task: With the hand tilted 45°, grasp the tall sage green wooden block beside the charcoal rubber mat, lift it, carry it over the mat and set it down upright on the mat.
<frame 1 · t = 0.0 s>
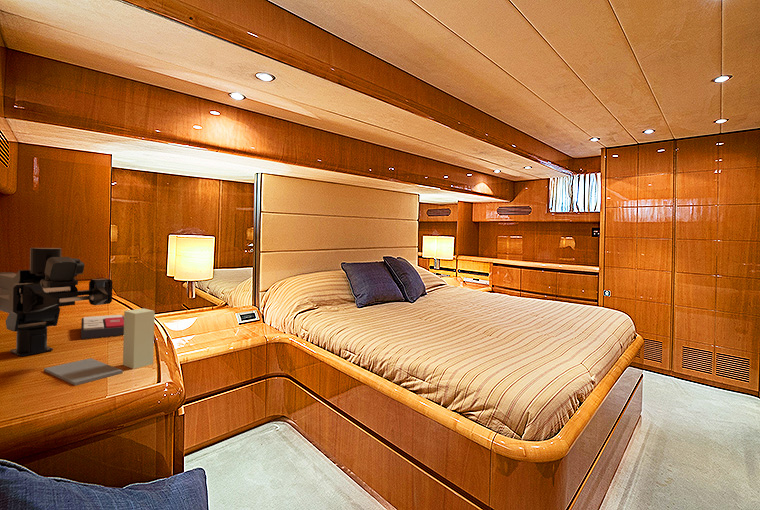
hand: (83, 299, 83), 17 cm above the table, tool horizontal, fingers open, 9 cm apart
calculator: (103, 333, 117), on the table
mat: (83, 371, 84), on the table
block: (138, 364, 90), on the table
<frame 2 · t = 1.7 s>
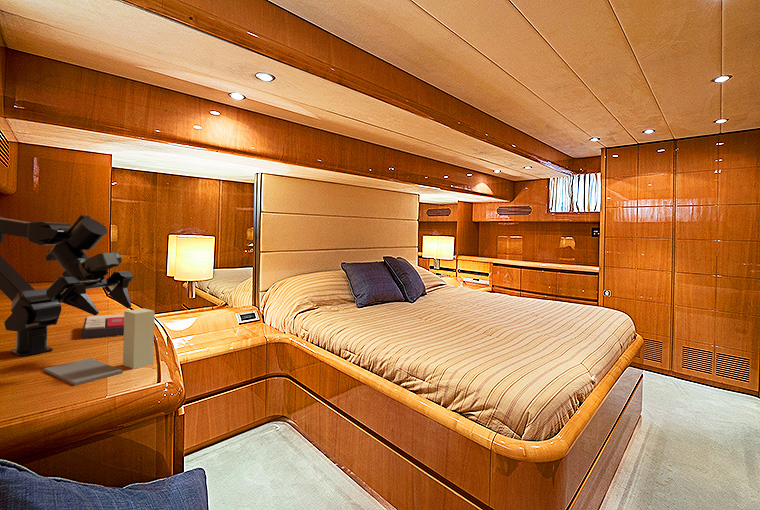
hand: (114, 310, 91), 12 cm above the table, tool tilted 45°, fingers open, 9 cm apart
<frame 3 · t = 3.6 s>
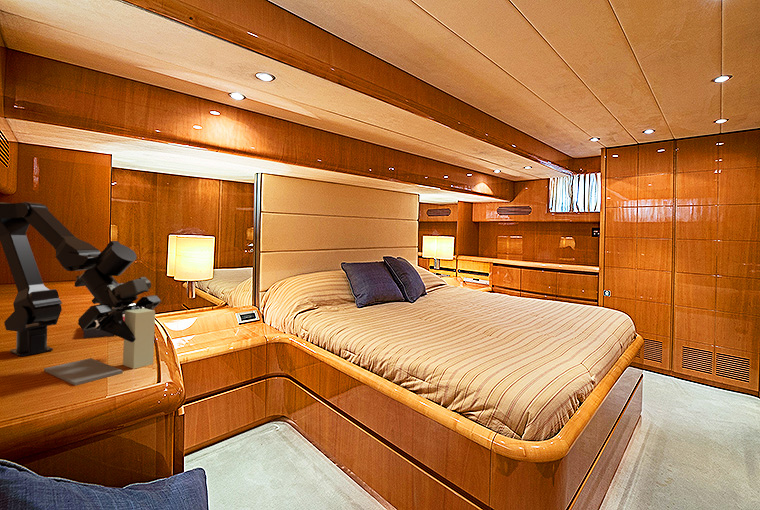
hand: (144, 337, 90), 7 cm above the table, tool tilted 45°, fingers closed on block, 6 cm apart
block: (138, 364, 90), on the table, touching gripper
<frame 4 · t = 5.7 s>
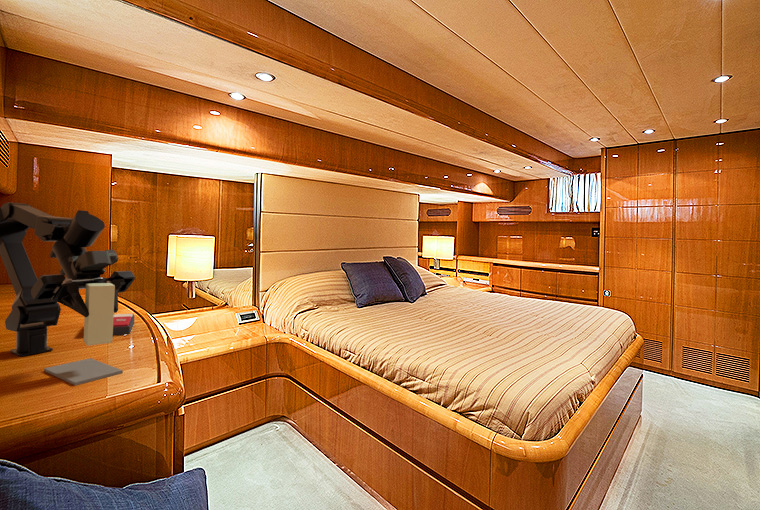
hand: (102, 313, 84), 13 cm above the table, tool tilted 45°, fingers closed on block, 6 cm apart
block: (97, 341, 85), point 7 cm above the table, touching gripper
when the fingers open (8 cm above the table, at t = 7.5 s): block drops 1 cm, resting on mat.
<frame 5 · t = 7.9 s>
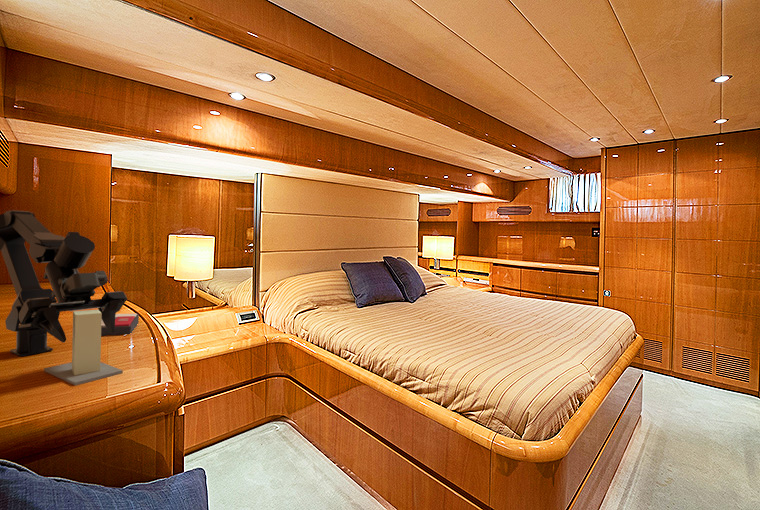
hand: (90, 336, 82), 8 cm above the table, tool tilted 45°, fingers open, 9 cm apart
block: (86, 370, 83), point 1 cm above the table, touching mat
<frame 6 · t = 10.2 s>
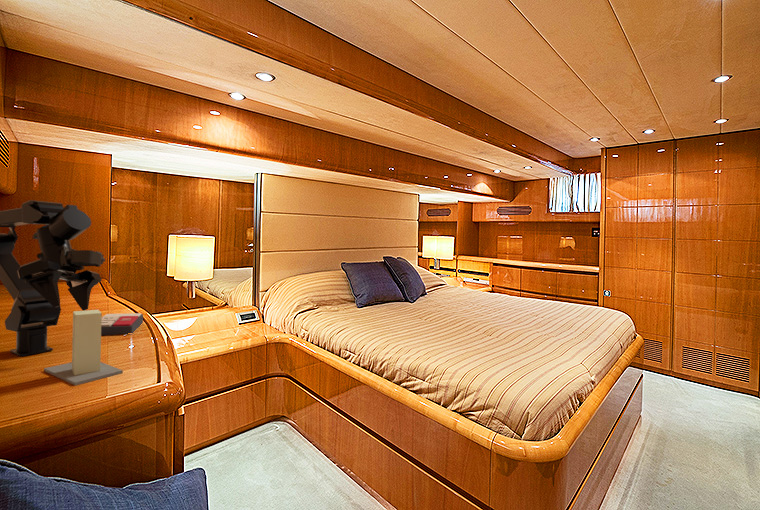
hand: (72, 308, 88), 13 cm above the table, tool tilted 30°, fingers open, 9 cm apart
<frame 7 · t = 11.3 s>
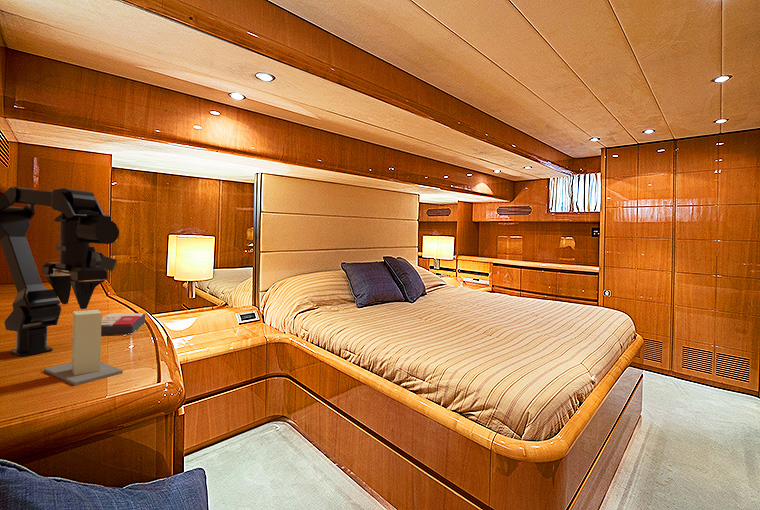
hand: (74, 306, 91), 13 cm above the table, tool pointing down, fingers open, 9 cm apart
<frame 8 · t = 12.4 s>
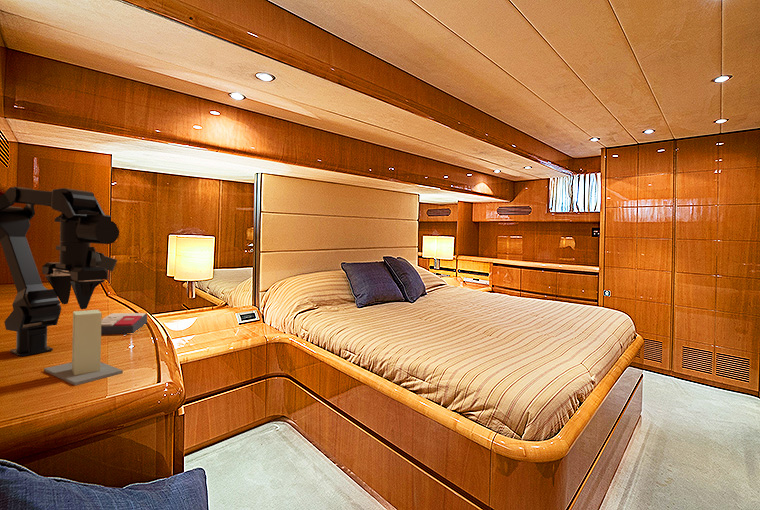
hand: (74, 306, 91), 13 cm above the table, tool pointing down, fingers open, 9 cm apart
at the end: block inside the target area on the mat (0.4 cm from its centre), point 0.6 cm above the mat's base; block tilted 0°; the gripper is holding nothing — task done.
